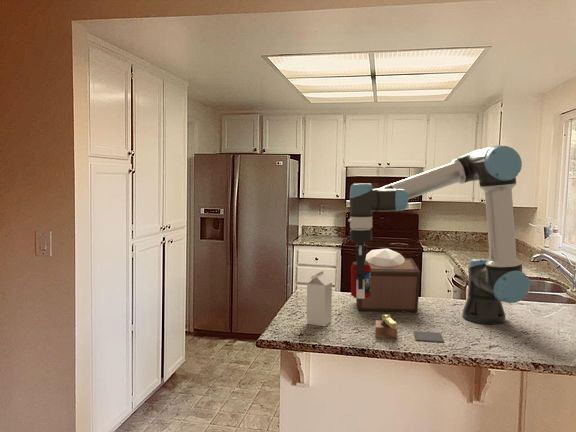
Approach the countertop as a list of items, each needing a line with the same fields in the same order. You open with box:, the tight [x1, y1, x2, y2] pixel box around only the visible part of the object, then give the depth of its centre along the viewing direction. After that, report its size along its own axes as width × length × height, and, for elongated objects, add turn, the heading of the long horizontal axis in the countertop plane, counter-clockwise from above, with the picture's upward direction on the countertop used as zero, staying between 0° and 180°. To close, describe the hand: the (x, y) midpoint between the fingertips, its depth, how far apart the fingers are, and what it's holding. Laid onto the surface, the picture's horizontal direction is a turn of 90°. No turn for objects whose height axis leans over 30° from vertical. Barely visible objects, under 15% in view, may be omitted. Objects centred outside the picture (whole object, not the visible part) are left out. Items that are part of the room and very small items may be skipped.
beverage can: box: [350, 260, 371, 299], centre depth 159 cm, size 7×7×12 cm
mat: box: [413, 330, 445, 344], centre depth 156 cm, size 9×9×1 cm
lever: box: [381, 313, 397, 328], centre depth 155 cm, size 9×3×2 cm, turn 5°
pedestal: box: [374, 319, 398, 340], centre depth 159 cm, size 7×8×4 cm
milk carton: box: [306, 270, 333, 327], centre depth 171 cm, size 7×7×19 cm
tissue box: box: [355, 248, 421, 313], centre depth 198 cm, size 24×28×24 cm
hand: (361, 295), depth 160 cm, fingers closed on beverage can, 7 cm apart
